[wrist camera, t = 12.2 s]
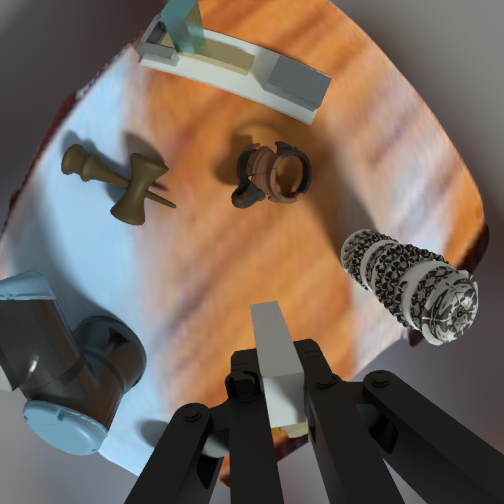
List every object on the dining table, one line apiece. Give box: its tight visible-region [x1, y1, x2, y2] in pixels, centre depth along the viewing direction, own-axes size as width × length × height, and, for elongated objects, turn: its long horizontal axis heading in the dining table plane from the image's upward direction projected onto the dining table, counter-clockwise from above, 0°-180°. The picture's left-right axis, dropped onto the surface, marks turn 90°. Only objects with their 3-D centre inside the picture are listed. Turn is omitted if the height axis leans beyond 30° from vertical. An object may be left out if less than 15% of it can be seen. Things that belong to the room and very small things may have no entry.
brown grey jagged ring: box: [231, 141, 312, 209], centre depth 41 cm, size 12×10×8 cm
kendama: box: [61, 144, 176, 225], centre depth 39 cm, size 6×10×20 cm
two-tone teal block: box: [160, 0, 255, 76], centre depth 30 cm, size 14×3×13 cm, turn 67°
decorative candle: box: [340, 230, 478, 345], centre depth 35 cm, size 9×9×25 cm
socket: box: [135, 13, 180, 67], centre depth 34 cm, size 6×7×4 cm
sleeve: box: [264, 55, 332, 112], centre depth 37 cm, size 8×5×4 cm, turn 67°
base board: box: [140, 29, 331, 126], centre depth 38 cm, size 28×9×1 cm, turn 67°
